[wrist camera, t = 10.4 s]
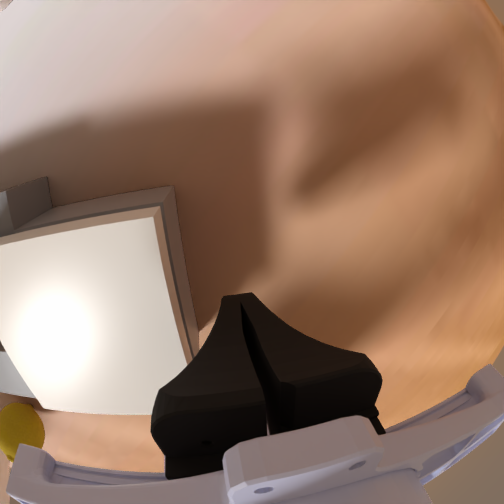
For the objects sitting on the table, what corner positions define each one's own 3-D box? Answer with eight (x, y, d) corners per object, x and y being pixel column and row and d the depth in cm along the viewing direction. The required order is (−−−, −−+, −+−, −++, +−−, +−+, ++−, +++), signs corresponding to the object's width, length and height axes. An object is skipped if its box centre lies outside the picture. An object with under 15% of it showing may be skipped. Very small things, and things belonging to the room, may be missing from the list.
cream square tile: (160, 206, 10) (153, 216, 9) (200, 389, 14) (202, 411, 13) (-18, 242, 9) (-36, 254, 8) (51, 390, 13) (44, 408, 12)
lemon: (20, 382, 19) (-7, 441, 11) (60, 415, 21) (43, 475, 14) (4, 394, 19) (-19, 445, 12) (40, 424, 21) (24, 476, 14)
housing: (169, 149, 14) (156, 153, 10) (203, 353, 20) (206, 400, 16) (-62, 218, 12) (-94, 236, 8) (-8, 356, 17) (-27, 385, 13)
